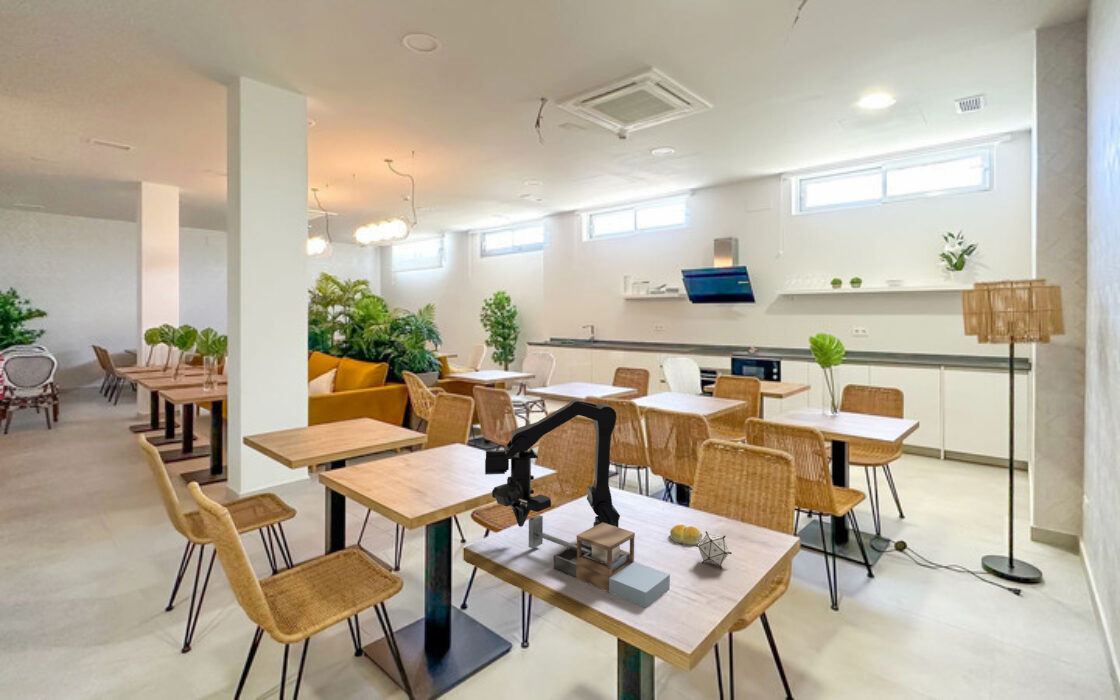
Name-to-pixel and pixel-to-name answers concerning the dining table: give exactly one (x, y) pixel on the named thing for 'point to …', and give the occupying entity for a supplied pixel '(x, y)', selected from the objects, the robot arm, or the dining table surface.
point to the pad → (639, 584)
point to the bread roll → (686, 535)
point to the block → (605, 553)
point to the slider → (564, 542)
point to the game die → (713, 549)
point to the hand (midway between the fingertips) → (520, 526)
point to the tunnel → (597, 536)
